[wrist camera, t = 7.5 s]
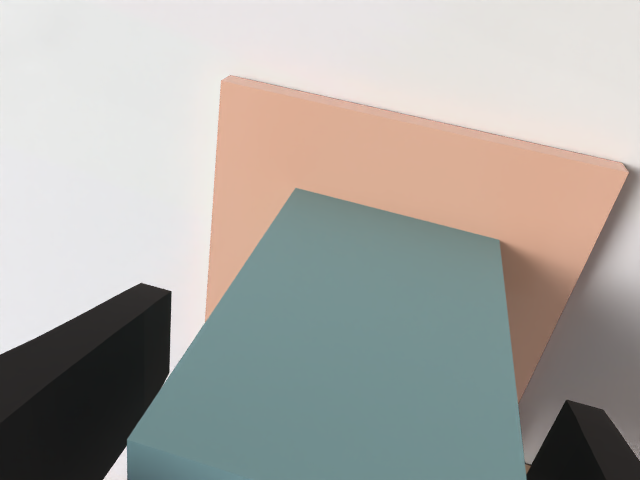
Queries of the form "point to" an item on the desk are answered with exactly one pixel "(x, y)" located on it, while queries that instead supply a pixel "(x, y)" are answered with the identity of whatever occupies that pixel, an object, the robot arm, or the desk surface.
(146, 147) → the desk surface
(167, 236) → the desk surface
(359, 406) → the teal block
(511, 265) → the terracotta tile
